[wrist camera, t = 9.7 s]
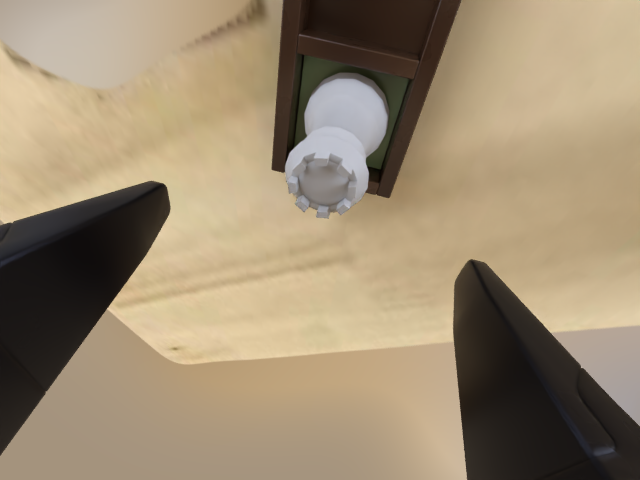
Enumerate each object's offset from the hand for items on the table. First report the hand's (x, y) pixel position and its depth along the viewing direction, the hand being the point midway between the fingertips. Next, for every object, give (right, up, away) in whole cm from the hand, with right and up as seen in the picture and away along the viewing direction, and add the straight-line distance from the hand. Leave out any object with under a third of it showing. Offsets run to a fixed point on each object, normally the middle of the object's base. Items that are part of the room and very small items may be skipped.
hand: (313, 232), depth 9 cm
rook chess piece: (+2, +7, +8) cm, 11 cm away
